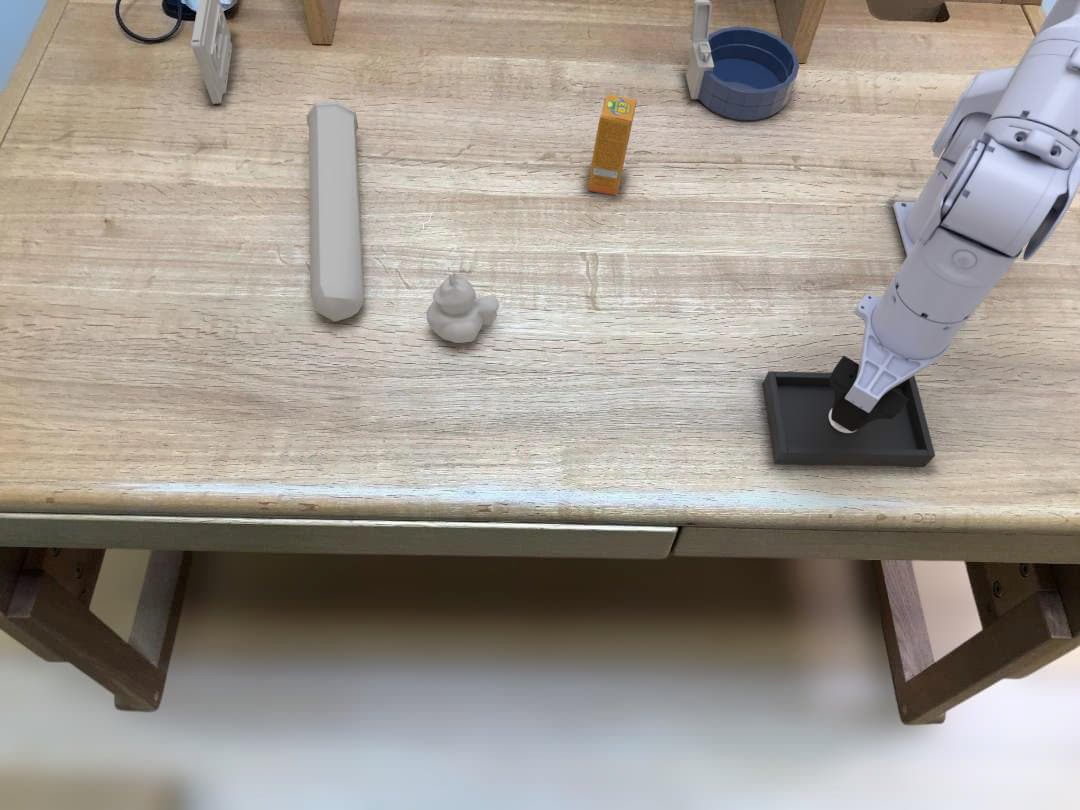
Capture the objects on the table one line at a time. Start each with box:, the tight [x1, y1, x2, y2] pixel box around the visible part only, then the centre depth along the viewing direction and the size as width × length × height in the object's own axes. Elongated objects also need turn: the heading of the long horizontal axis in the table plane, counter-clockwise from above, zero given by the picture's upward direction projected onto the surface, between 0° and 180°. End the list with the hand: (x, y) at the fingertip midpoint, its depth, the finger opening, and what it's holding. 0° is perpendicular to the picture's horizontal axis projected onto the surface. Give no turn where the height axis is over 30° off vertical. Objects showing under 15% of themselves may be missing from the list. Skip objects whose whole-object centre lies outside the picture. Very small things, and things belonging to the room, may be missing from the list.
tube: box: [305, 100, 365, 323], centre depth 83 cm, size 5×5×25 cm
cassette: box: [190, 0, 233, 105], centre depth 93 cm, size 12×2×8 cm, turn 5°
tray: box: [762, 370, 936, 467], centre depth 75 cm, size 13×8×2 cm, turn 90°
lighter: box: [685, 0, 714, 100], centre depth 95 cm, size 7×2×8 cm, turn 4°
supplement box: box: [587, 93, 638, 196], centre depth 85 cm, size 3×3×10 cm
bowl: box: [698, 25, 800, 122], centre depth 96 cm, size 11×11×4 cm
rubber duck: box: [426, 272, 500, 344], centre depth 76 cm, size 5×7×8 cm
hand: (864, 391), depth 71 cm, fingers open, 7 cm apart
